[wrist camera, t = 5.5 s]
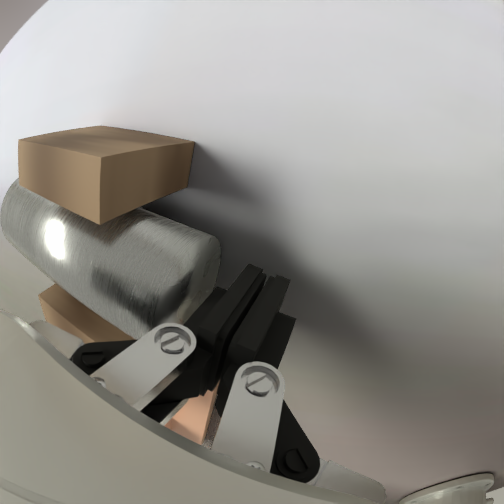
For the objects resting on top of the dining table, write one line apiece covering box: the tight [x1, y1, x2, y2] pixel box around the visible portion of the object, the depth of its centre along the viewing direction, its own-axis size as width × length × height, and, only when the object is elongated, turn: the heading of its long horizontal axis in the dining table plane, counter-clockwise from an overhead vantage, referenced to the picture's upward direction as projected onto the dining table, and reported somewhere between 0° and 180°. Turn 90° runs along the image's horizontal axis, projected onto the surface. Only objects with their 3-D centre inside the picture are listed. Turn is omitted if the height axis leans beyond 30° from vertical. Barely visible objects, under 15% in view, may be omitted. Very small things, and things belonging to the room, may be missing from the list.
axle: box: [0, 178, 221, 340], centre depth 12 cm, size 12×5×5 cm, turn 75°
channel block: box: [18, 126, 195, 344], centre depth 11 cm, size 6×10×5 cm, turn 166°
